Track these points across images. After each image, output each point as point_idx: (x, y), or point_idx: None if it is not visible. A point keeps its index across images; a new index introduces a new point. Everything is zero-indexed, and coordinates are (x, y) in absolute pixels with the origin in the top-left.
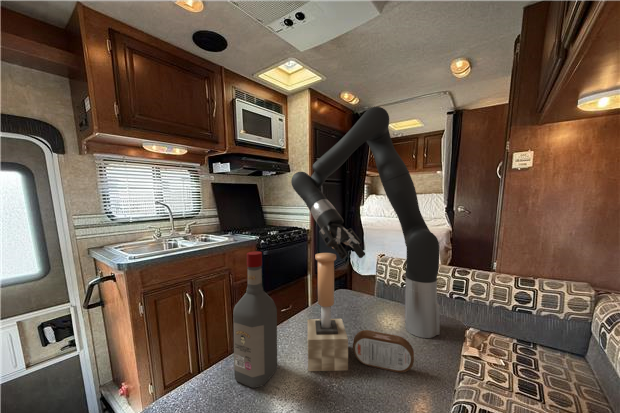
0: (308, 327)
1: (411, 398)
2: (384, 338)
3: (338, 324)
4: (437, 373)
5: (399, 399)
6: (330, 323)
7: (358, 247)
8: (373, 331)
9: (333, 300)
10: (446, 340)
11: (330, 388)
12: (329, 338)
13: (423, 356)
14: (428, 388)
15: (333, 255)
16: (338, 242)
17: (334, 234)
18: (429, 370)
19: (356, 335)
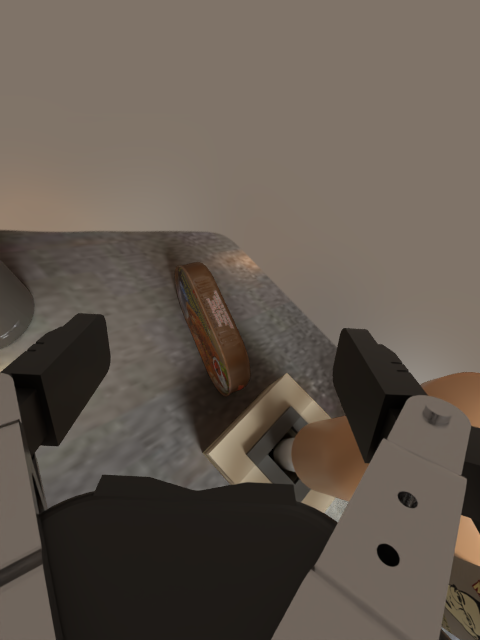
0: (326, 504)
1: (245, 274)
2: (220, 304)
3: (246, 438)
4: (156, 253)
5: (261, 287)
6: (292, 438)
7: (62, 365)
8: (215, 334)
9: (318, 421)
10: (10, 254)
11: (326, 387)
12: (319, 412)
13: (116, 282)
14: (205, 259)
15: (450, 401)
16: (436, 407)
17: (442, 631)
18: (156, 265)
19: (234, 379)
